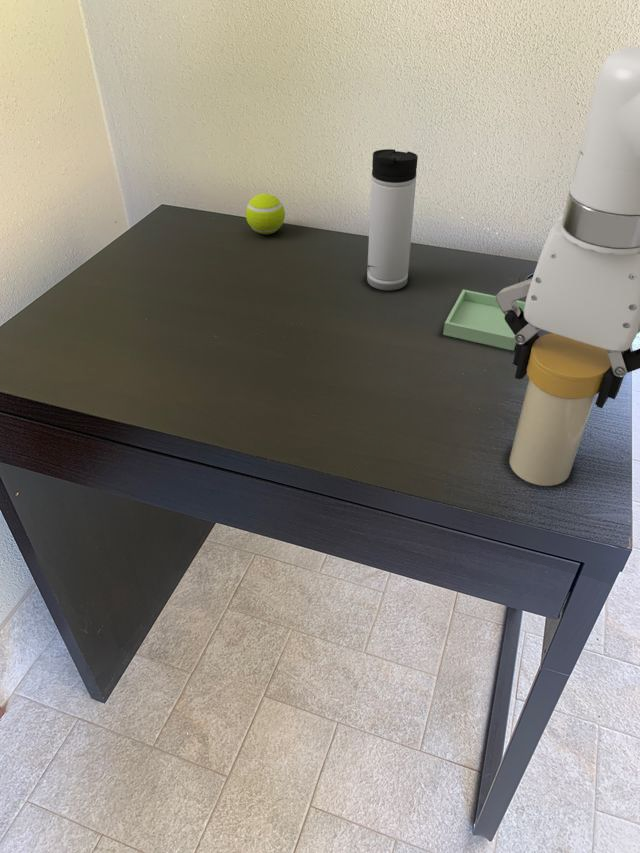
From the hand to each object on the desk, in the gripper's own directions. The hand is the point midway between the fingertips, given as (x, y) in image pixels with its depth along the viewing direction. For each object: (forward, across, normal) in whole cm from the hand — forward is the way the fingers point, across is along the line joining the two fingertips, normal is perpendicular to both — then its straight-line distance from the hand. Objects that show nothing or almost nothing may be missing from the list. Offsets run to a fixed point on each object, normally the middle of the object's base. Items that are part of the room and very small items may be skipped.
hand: (562, 384), depth 68 cm
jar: (+11, 0, 0) cm, 11 cm away
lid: (-3, 0, 0) cm, 3 cm away
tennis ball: (+11, +60, -29) cm, 68 cm away
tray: (+11, +16, -23) cm, 30 cm away
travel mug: (+11, +34, -26) cm, 44 cm away
